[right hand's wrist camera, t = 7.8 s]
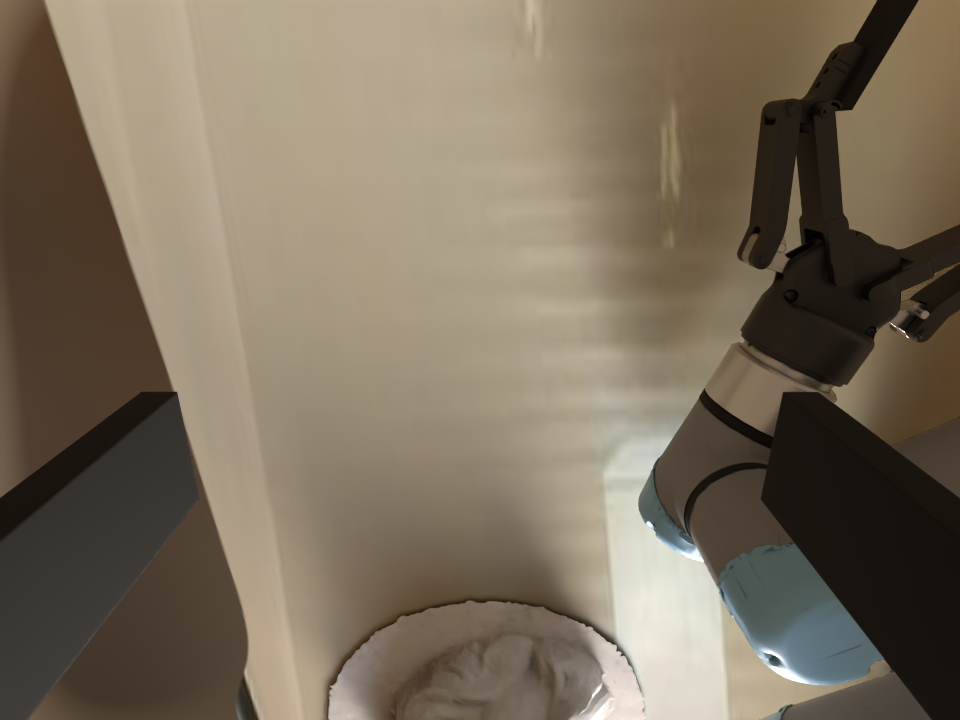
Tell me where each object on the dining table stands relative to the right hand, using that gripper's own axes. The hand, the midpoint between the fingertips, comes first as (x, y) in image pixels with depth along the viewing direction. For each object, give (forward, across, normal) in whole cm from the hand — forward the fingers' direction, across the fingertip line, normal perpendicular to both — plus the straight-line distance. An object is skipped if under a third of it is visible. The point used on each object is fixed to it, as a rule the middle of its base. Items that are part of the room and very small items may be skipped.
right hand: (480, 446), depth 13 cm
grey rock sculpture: (+32, +1, -52) cm, 61 cm away
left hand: (+26, +30, +11) cm, 41 cm away
